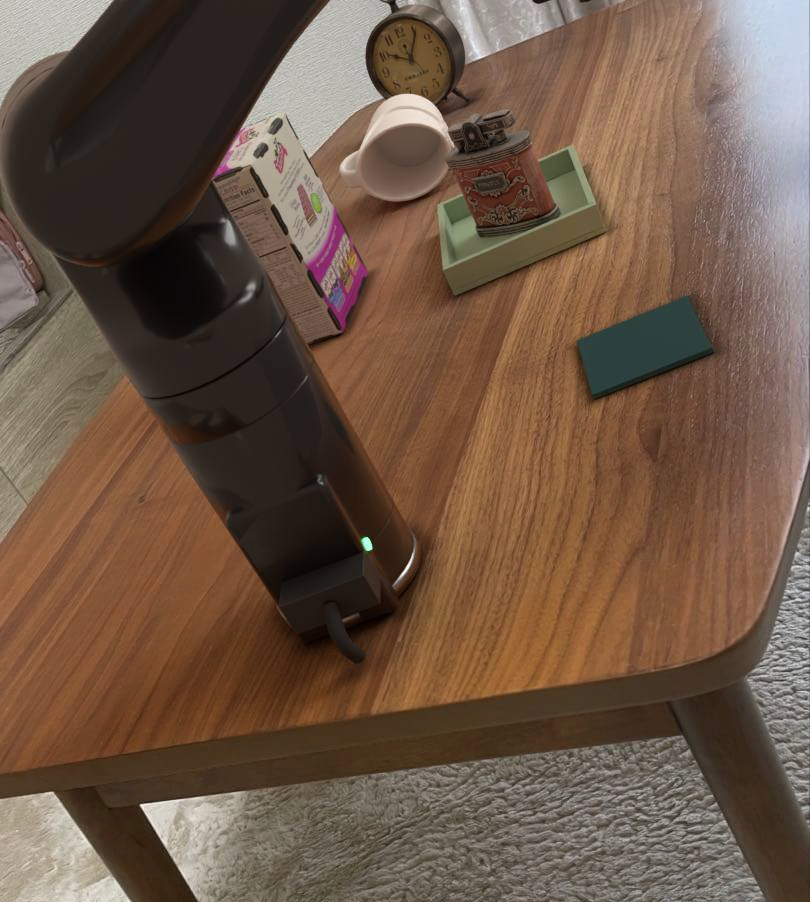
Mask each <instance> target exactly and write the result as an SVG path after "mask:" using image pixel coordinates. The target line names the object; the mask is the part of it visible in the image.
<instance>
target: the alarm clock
mask: <svg viewBox="0 0 810 902" xmlns="http://www.w3.org/2000/svg"><path fill="white" fill-rule="evenodd" d="M379 1H380V2H382V3H385V4H387V5H389V8H390V11H391V12H390V13H389V14H388V15H387V16H386V17H384V18H383V19H381V20H380V21H379V22H378V23H377V24H376V25H375V26H374V28H372V30H371V32H370V34H369V36H368V39H367V42H366V46H365V55H364V58H365V67H366V71H367V74H368V77H369V79H370V81H371V84H372V85H373V87H374V88H375V90H376V91H377V93H378V94H380V96H381V98H383V99H384V100H385V101H386V100H387V99H389V98H391V97H393V96H396V95H400V94H414V95H418V96H421V97H424V98H426V99H427V100H429V101H430V102H432V103H433V104H434V105H435V106H436V107H438V106H440V104H443V102H444V101H448V99H449V98H448V97H449V96H450V94H451V93H452V94H454V95H455V96H456V97H459V98H460V99H463V100H464V101H465V103H470V102H471V97H470V96H469V95H466V94H465V93H464V92H463V91H462V90H461V89H460V88H458V87H457V86H458V84H459V83H460V81H461V79H462V77H463V74H464V72H465V68H466V67H465V66H466V50H465V46H464V41H463V39H462V35H461V34H460V32H459V30H458V28H457V27H456V25H455V24H454V23H453V22H452V20H451V19H450V18H449V17H447V16H446V15H445V14H444V13H443V12H442V11H440V10H438V9H437V8H435V7H432V6H429V5H425V4H418V3H413V4H406V5H403V6H400V7H399V5H398V4H397V0H379Z"/></svg>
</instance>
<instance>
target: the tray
mask: <svg viewBox="0 0 810 902" xmlns="http://www.w3.org/2000/svg"><path fill="white" fill-rule="evenodd" d="M537 160H538V163H539V165H540V168H541V170H542V173H543V175H544V178H545V180H546V183H547V185H548V188H549V190H550V193H551V195H552V198H553V200H554V202H556V203H557V204H558V207H559V209H560V212H561V216H560V217H558V218H556V219H554V220H552V221H549V222H547V223H545V224H542V225H540V226H538V227H535V228H533V229H531V230H528V231H526V232H524V233H519V234H514V235H509V236H502V237H493V238H480V237H479V235H478V233H477V231H476V229H475V226H476V223H475V221H474V219H473V216H472V214H471V212H470V210H469V207H468V205H467V203H466V200H465V198H464V196H463V194H462V193H461V194H458V195H456V196H453V197H452V198H449V199H447V200H444V201H442V202H440V203H438V204H436V211H437V212H436V213H437V222H438V233H439V244H440V255H441V265H442V267H441V268H442V272H443V274H444V277H445V279H446V281H447V283H448V285H449V287H450V289H451V291H452V294H453V296H454V297H457V296H458V295H460V294H463V293H466V292H468V291H470V290H472V289H474V288H478V287H479V286H482V285H484V284H487V283H489V282H491V281H494V280H497V279H499V278H500V277H504V276H506V275H507V274H510V273H512V272H515V271H517V270H520V269H522V268H524V267H527V266H529V265H531V264H534V263H536V262H539V261H541V260H544V259H545V258H547V257H550V256H553V255H554V254H557V253H560V252H562V251H564V250H567V249H569V248H571V247H575V246H576V245H578V244H580V243H583V242H586V241H588V240H590V239H593V238H595V237H597V236H600V235H602V234H604V233H606V232H607V228H606V226H605V223H604V220H603V218H602V215H601V212H600V209H599V206H598V204H597V202H596V199H595V196H594V193H593V192H592V191H593V190H592V189H591V186H590V184H589V181H588V179H587V176H586V174H585V172H584V168H583V166H582V163H581V161H580V159H579V156H578V153H577V151H576V148H575V146H574V144H570V145H568V146H566V147H564V148H562V149H559V150H556V151H555V152H552V153H550V154H548V155H545V156H543V157H541V158H539V159H537Z"/></svg>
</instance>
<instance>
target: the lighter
mask: <svg viewBox="0 0 810 902" xmlns="http://www.w3.org/2000/svg"><path fill="white" fill-rule="evenodd" d="M515 124H516V119H515V117H514V114H513V111H512V110H509V109H508V108H505V109H501V110H497V111H493V112H489V113H486V114H485V116H483V115H482V114H481V113H478V112H475V113H472V114H471V115H470V116H469V117H468V118H467V119H466V120H465V121H463V122H458V123H455V124H452V125H451V126H450V127H448V130H447V132H448V134H449V136H450V138H451V141H452V142H453V143H454V148H453V149H451V152H449V153H448V154H447V155H446V157H445V160H446V163H447V165H448V167H449V169H451V171H452V173H453V175H454V177H455V180H456V182H457V184H458V187H459V188H460V191H461V194H463V196H464V198H465V200H466V203H467V205H468V207H469V210H470V212H471V214H472V216H473V219H474V221H475V223H476V226H475V229H476V231H477V233H478V235H479V237H480V238H493V237H502V236H509V235H514V234H519V233H524V232H526V231H528V230H531V229H533V228H535V227H538V226H540V225H542V224H545V223H547V222H549V221H552V220H554V219H556V218H558V217H560V216H561V212H560V209H559V207H558V204H557V203H556V202H554V200H553V198H552V195H551V193H550V190H549V188H548V185H547V183H546V180H545V178H544V175H543V173H542V170H541V168H540V165H539V163H538V160H539V159H538V158H537V156H536V155H537V154H536V153H535V150H534V148H533V145H532V143H533V139H532V136H531V134H530V131H529V130H518V131H513V132H506V131H505V130H507V129H511V128H512V127H513V126H515Z"/></svg>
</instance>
